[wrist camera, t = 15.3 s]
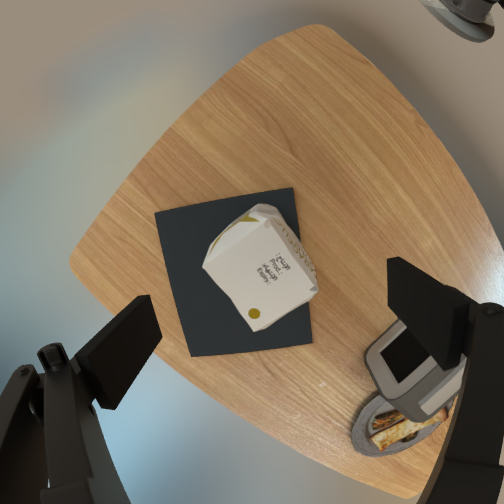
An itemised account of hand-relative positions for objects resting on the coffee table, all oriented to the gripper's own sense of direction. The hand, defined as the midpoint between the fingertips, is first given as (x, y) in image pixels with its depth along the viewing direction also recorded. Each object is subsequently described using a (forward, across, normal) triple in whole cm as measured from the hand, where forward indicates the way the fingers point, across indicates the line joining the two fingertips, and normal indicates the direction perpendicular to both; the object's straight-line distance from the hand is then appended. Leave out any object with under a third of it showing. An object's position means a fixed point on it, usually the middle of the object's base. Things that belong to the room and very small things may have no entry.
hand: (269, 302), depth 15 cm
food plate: (+26, +23, -43) cm, 55 cm away
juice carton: (+26, -1, -1) cm, 26 cm away
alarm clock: (+26, +22, -23) cm, 41 cm away
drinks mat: (+26, -6, -7) cm, 28 cm away
